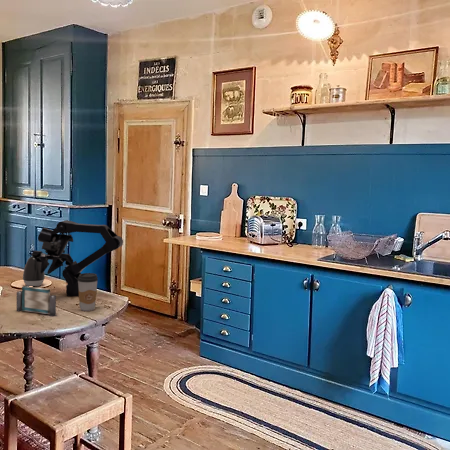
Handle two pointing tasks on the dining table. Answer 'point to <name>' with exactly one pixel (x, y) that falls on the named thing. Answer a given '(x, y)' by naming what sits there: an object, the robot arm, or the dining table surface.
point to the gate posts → (52, 303)
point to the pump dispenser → (33, 273)
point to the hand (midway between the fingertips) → (44, 273)
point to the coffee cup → (87, 291)
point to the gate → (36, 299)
